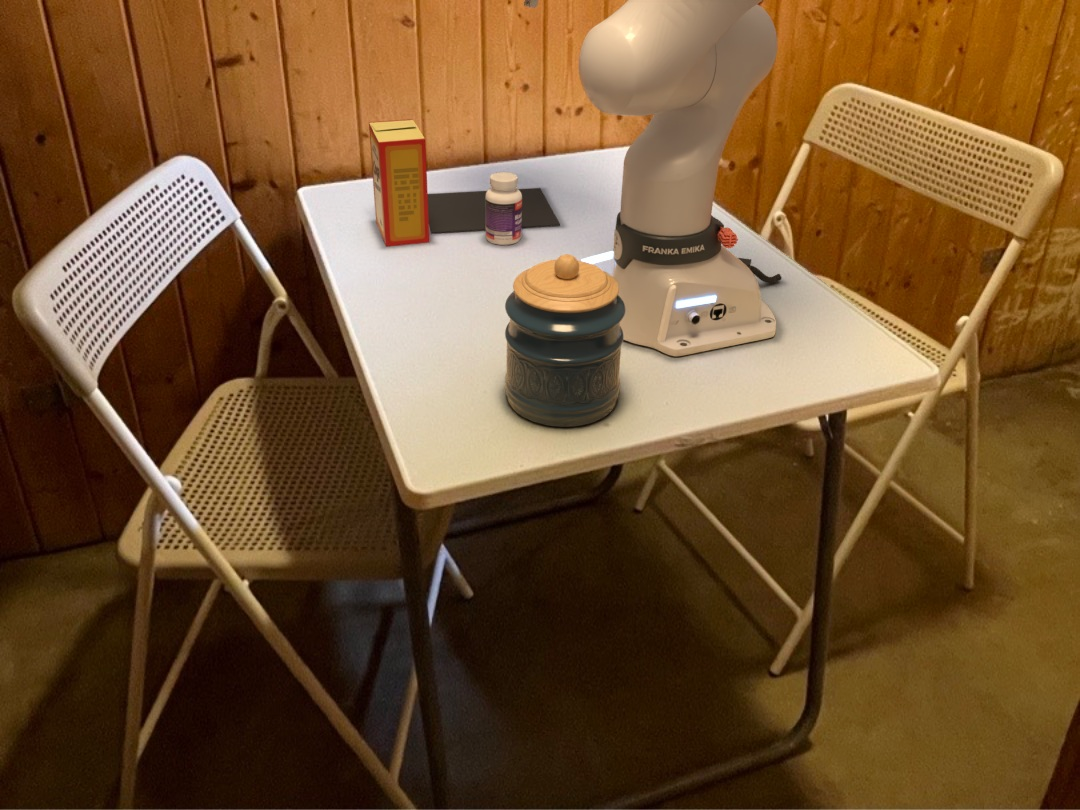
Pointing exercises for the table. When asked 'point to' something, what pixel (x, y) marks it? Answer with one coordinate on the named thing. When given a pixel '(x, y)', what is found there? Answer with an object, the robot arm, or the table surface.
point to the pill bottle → (503, 209)
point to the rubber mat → (483, 211)
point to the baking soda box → (400, 181)
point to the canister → (564, 343)
